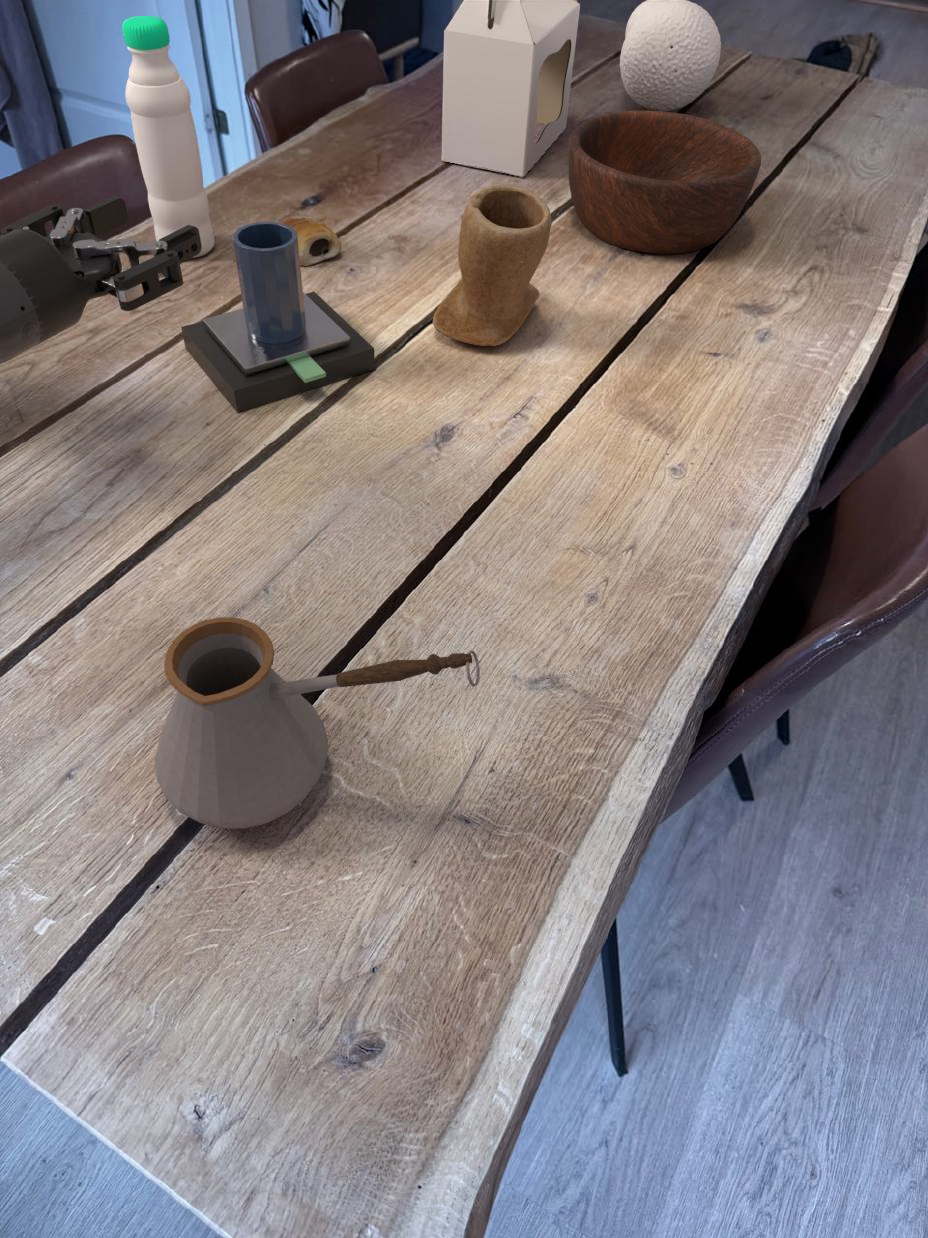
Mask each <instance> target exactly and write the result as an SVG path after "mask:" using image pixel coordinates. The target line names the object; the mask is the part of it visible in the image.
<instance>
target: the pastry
mask: <svg viewBox="0 0 928 1238" xmlns="http://www.w3.org/2000/svg"><path fill="white" fill-rule="evenodd" d="M281 223H282V224H285V225H288V226H290V227H292V228H293V229H294V230H295V231H296V232H297V237H298V248H299V258H300V266H303V267H309V266H312V265H317V264H319V263H321V262H323V261H325V260H329V259H332V258H334V257H336V256H337V255H339V253H340V251H341V248H342V243H341V241H340V240H339V238H338V235H337V234H336V233H335V231H333V230H332V229H331V228H330V227H329V226H327V225H326V223H325V222H322V221H316V220H313V219H311V218H305V217H300V218H293V217H290V218H287V219H286V220H284V221H283V222H281Z"/></svg>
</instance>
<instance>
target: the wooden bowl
mask: <svg viewBox="0 0 928 1238" xmlns="http://www.w3.org/2000/svg"><path fill="white" fill-rule="evenodd" d="M567 153H568V155H567V157H568V159H567V161H568V163H567V165H568V183H569V192H570V197H571V201H572V204H573V208H574V210H575V213H576V215H577V217H578V219H579V221H580V222H581V224H582V225H583V226H584V227H585V228H586V230H588V231H589V232H590V233H591V234H593V235H594V236H595V237H596V238H599V239H600V240H602V241H604V242H606V243H608V244H611V245H613V246H616V247H619V248H623V249H626V250H629V251H634V252H641V253H648V254H657V255H658V254H660V255H661V254H662V255H675V254H685V253H691V252H696V251H699V250H702V249H705V248H708V247H709V246H711V245H712V244H715V243H716V242H717V241H719V240H720V239H721V238H722V237H723V236H724V235H725V234H727V232H728V231H729V230H730V228H731V227H732V226H733V225H734V224H735V222H736V221H737V219H738V218H739V216H740V214H741V213H742V211H743V209H744V207H745V205H746V203H747V201H748V199H749V197H750V194H751V192H752V190H753V187H754V185H755V183H756V180H757V177H758V175H759V172H760V169H761V166H762V154H761V151H760V150H759V148H758V147H757V145H756V144H755V143H754V142H753V141H752V140H751V139H750V138H749V137H747V136H746V135H744V134H743V133H741V132H739V131H737V130H736V129H734V128H731V127H729V126H727V125H724V124H723V123H719V122H716V121H713V120H710V119H707V118H703V117H699V116H694V115H689V114H686V113H685V114H684V113H679V112H672V111H662V112H661V111H654V110H626V111H616V112H609V113H605V114H602V115H597V116H594V117H592V118H589V119H587V120H585V121H583V122H582V123H580V124H579V125H578V126H576V127H575V128H574V129H573V130H572V132H571V134H570V136H569V140H568V151H567Z"/></svg>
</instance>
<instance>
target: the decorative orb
mask: <svg viewBox="0 0 928 1238" xmlns="http://www.w3.org/2000/svg"><path fill="white" fill-rule="evenodd" d="M718 28H719V27H718V26H717V25H716V22H715V20H714V19H713V17H712V15H710V13H709V12H708V11H707V10H706V9H704V8H703V7H702V6H701V5H699V4H697V3H696V2H692V1H690V0H644V1H643V2H641V3H640V4H639V5H637V6H636V8H635V9H634V10H633V12H632V13H631V15H630V17H629V18H628V21H627V23H626V27H625V32H624V33H625V34H624V36H625V37H624V41H623V43H622V47H621V49H620V55H619V69H620V77H621V81H622V85H623V87H624V89H625V91H626V93H627V95H629V97H630V98H631V99H632V101H634V102H635V103H636V104H637V105H639V106H640V107H642V108H645V109H646V111H661V112H673V111H675V110H679V109H681V108H684V107H686V106H688V105H690V104H691V103H693V101H695V100H696V99H697V98H699V97H700V96H701V95H702V94H703V93H704V92H705V90H706V89H707V88H708V86H709V85H710V83H711V81H712V80H713V78H714V76H715V74H716V72H717V70H718V67H719V62H720V60H721V50H722V41H721V34H720V32H719V29H718Z"/></svg>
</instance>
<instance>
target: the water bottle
mask: <svg viewBox="0 0 928 1238" xmlns="http://www.w3.org/2000/svg"><path fill="white" fill-rule="evenodd" d="M121 25H122V26H121V29H122V35H123V39H124V43H125V45H126V49H127V50H128V51H129V52H130V53H131V57H132V58H131V63H130V66H129V69H128V78H127V81H126V85H125V91H124V92H125V93H124V94H125V102H126V105H127V107H128V108H129V111H130V117H131V126H132V132H133V137H134V143H135V148H136V152H137V157H138V161H139V166H140V169H141V174H142V177H143V180H144V185H145V187H146V190H147V202H148V206H149V212H150V215H151V217H152V220H153V230H154V236H155V241H159V239H161V238H163V237H165V236H167V235H169V234H171V233H173V232H175V231H177V230H179V229H181V228H183V227H185V226H187V225H192V226H194V227H197V228H198V230H199V234H200V240H201V245H202V249H201V252H200V253H199V254H198V255H196V256H193V257H192V258H191V259H196V258H200V257H203V256H204V255H207V254H208V253H209V252H211V250H213V249H214V246H215V234H214V230H213V225H212V221H211V219H210V207H209V199H208V195H207V192H206V189H205V188H204V175H203V165H202V160H201V153H200V146H199V141H198V135H197V131H196V130H197V129H196V126H195V121H194V115H193V113H192V109H191V102H192V99H191V93H190V89H189V87H188V86H187V84H186V82H185V81H184V79H183V78H182V76H181V75H180V73H179V70H178V68H177V66H176V65H175V63H173V61H172V60H171V58H170V57H169V49H170V47H171V45H170V42H171V41H170V32H169V28H168V25H167V22H165V20H164V19H163V18H160V17H158V16H154V15H135V16H131V17H128V18H126V19H125V20H124V21H123V22H122V24H121Z"/></svg>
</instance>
